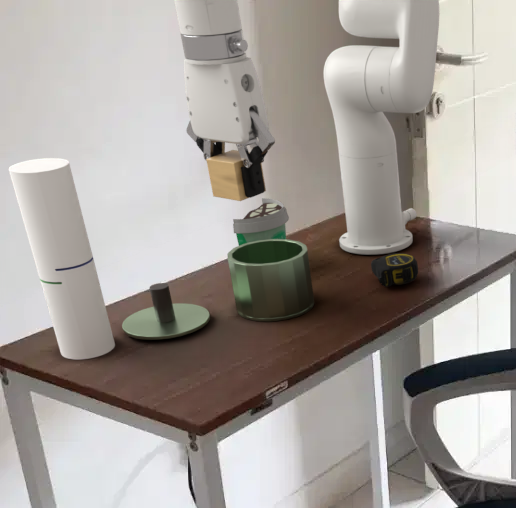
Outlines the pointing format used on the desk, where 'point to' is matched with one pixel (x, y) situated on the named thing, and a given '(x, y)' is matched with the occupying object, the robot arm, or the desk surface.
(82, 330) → the cylindrical container
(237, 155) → the block
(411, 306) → the desk surface
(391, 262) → the tape measure
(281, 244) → the tin
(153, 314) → the lid
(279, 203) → the food container
